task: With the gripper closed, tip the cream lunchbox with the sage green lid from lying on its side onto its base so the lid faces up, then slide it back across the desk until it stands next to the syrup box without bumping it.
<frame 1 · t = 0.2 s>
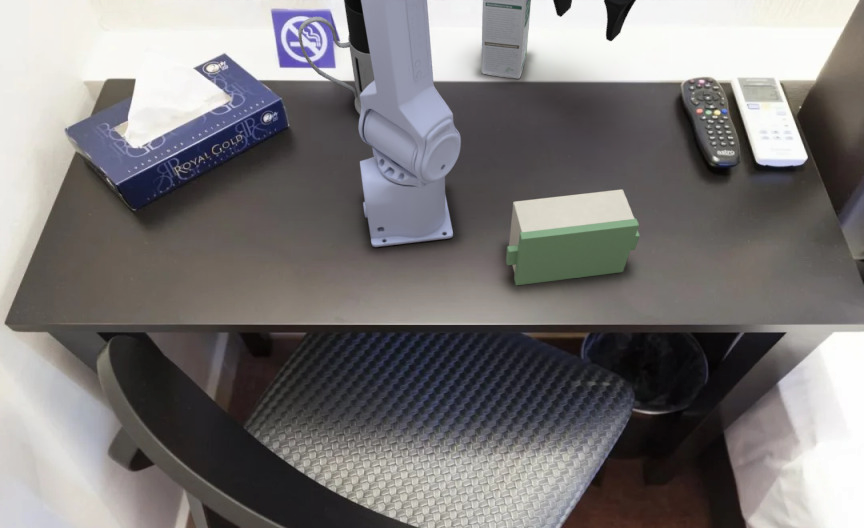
hand: (588, 23, 83), 10 cm above the table, tool pointing down, fingers open, 7 cm apart
syrup box: (503, 66, 96), on the table
lunchbox: (569, 237, 73), point 4 cm above the table
glass holder: (367, 106, 90), on the table
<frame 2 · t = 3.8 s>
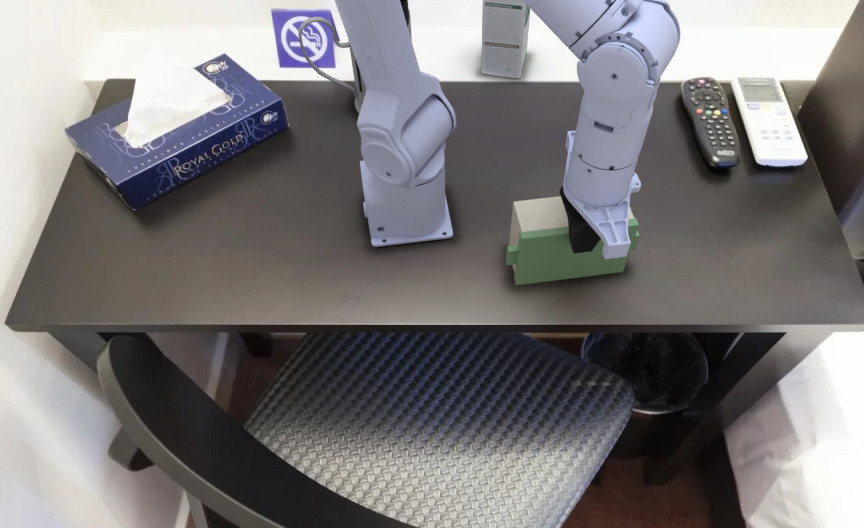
hand: (581, 247, 68), 7 cm above the table, tool pointing down, fingers closed
lunchbox: (568, 237, 73), point 4 cm above the table, touching gripper
everything else where it was.
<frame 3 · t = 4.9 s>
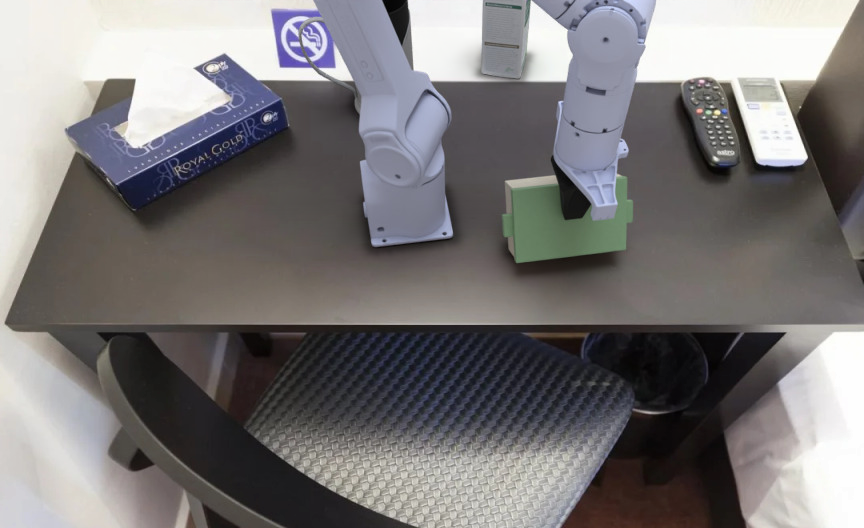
hand: (572, 215, 71), 7 cm above the table, tool pointing down, fingers closed
lunchbox: (564, 215, 74), point 5 cm above the table, tilted 34°, touching gripper
everything else where it was.
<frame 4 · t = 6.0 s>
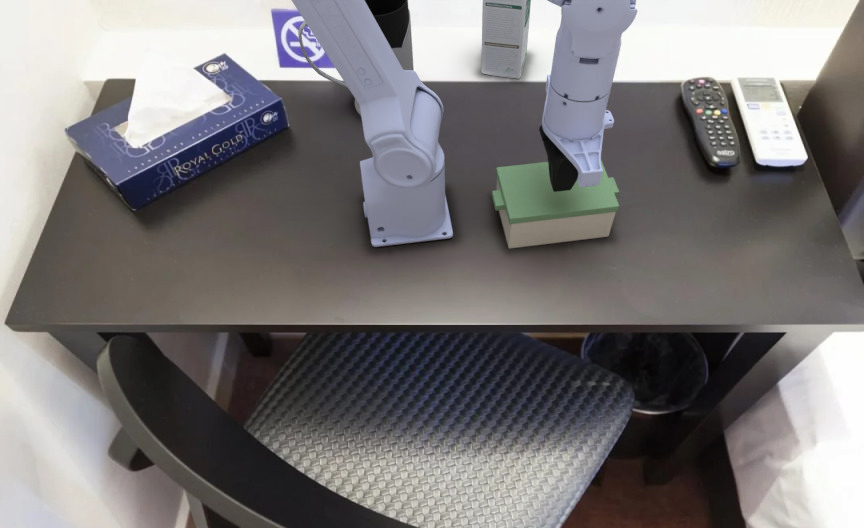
hand: (561, 186, 73), 7 cm above the table, tool pointing down, fingers closed
lunchbox: (553, 202, 77), point 3 cm above the table, tilted 90°
everything else where it was.
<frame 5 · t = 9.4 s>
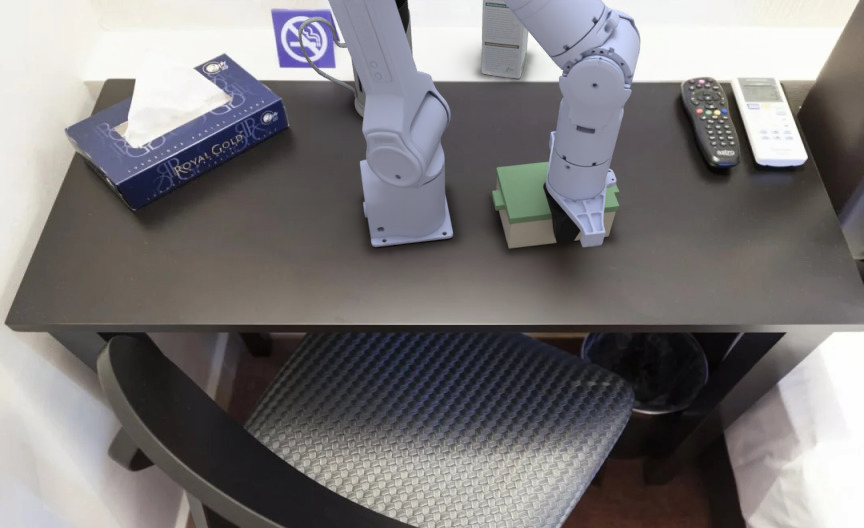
hand: (564, 238, 75), 2 cm above the table, tool pointing down, fingers closed
lunchbox: (553, 202, 77), point 2 cm above the table, tilted 90°, touching gripper
everything else where it was.
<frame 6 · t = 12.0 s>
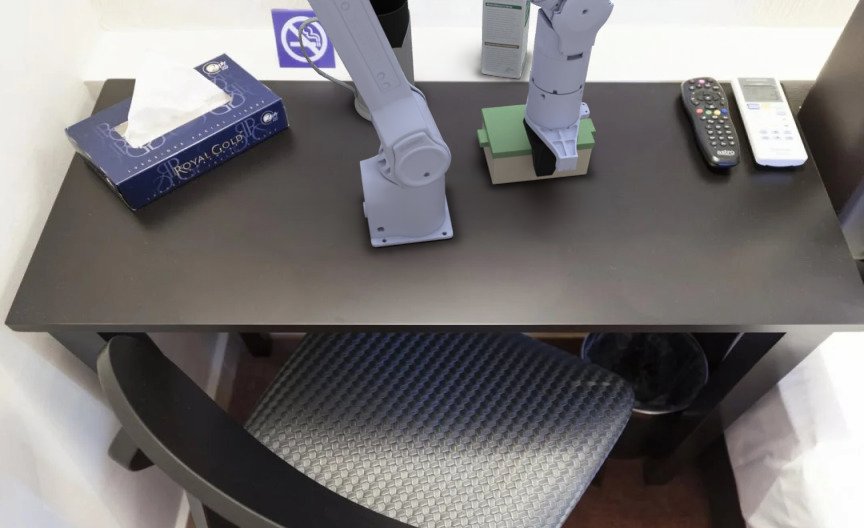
hand: (543, 172, 80), 2 cm above the table, tool pointing down, fingers closed
lunchbox: (535, 142, 83), point 3 cm above the table, tilted 90°, touching gripper
everything else where it was.
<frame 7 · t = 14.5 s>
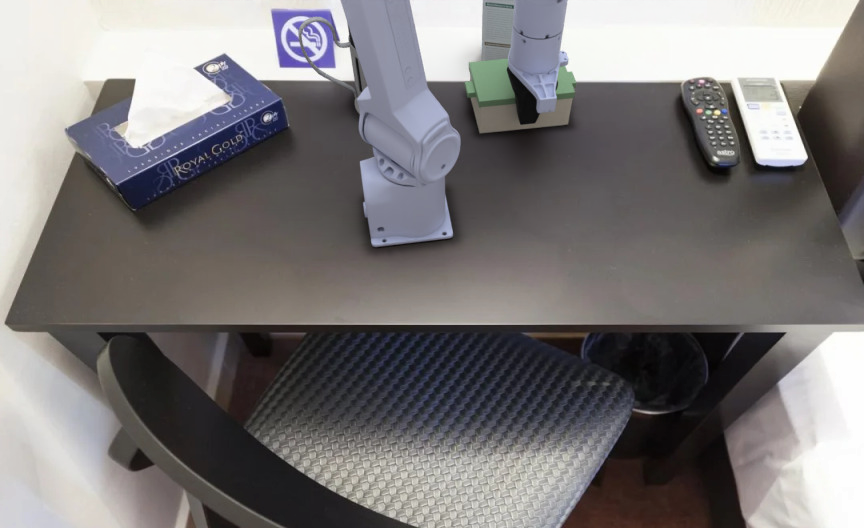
hand: (527, 121, 85), 2 cm above the table, tool pointing down, fingers closed
lunchbox: (519, 94, 88), point 3 cm above the table, tilted 90°, touching gripper
everything else where it was.
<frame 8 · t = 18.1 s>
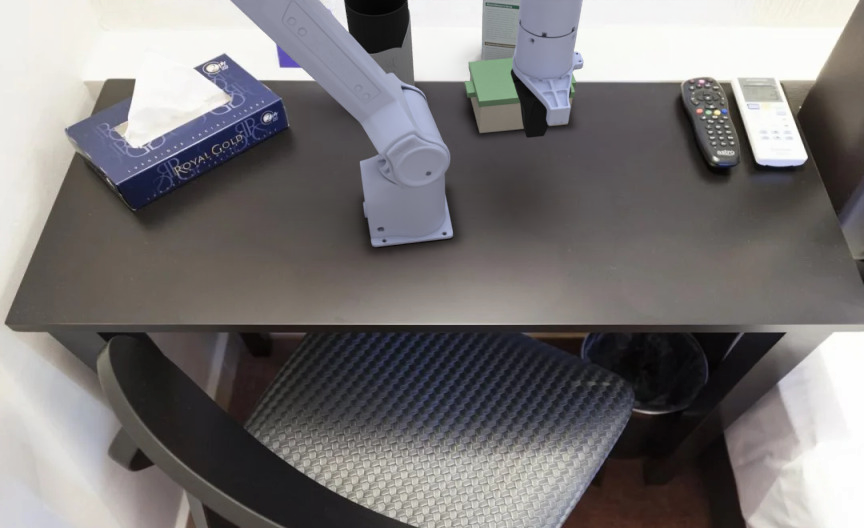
hand: (534, 132, 74), 9 cm above the table, tool pointing down, fingers closed
lunchbox: (519, 93, 88), point 3 cm above the table, tilted 90°
everything else where it was.
at the end: lunchbox tilted 90°; lunchbox 9.7 cm from the syrup box (horizontally); syrup box moved 0.2 cm from its start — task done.
